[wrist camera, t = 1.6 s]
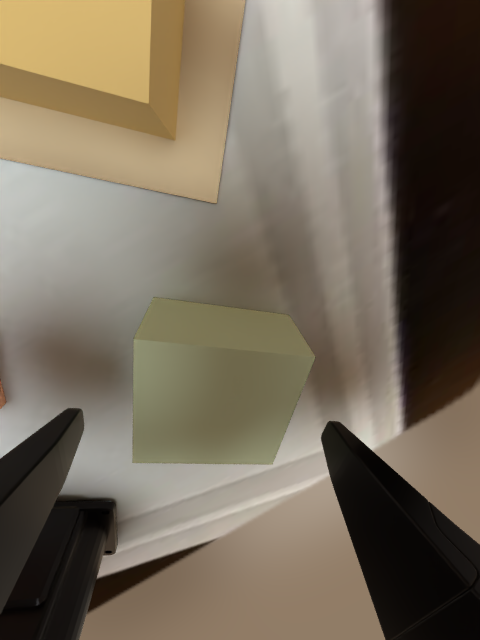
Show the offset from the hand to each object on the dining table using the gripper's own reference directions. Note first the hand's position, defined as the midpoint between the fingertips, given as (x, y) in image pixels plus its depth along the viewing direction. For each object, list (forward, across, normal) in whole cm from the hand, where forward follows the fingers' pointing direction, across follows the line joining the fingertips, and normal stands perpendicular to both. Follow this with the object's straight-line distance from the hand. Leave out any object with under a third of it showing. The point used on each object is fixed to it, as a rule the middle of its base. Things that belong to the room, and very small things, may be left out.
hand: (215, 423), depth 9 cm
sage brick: (+4, 0, 0) cm, 4 cm away
